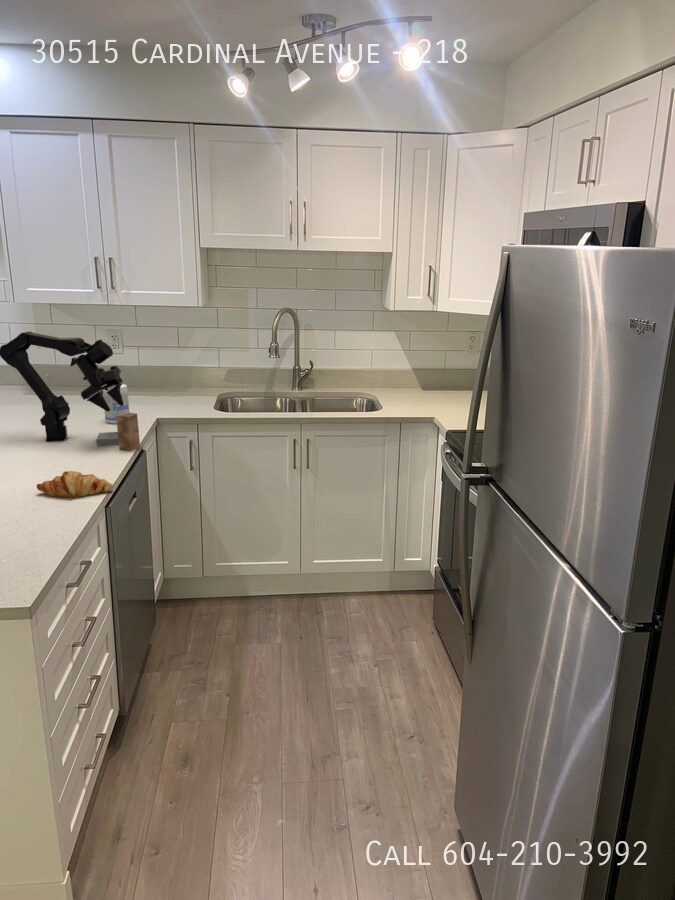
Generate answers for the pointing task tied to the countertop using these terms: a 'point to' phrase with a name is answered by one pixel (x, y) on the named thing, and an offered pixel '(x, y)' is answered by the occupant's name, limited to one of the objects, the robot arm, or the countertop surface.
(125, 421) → the walnut pillar
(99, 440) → the light grey plinth
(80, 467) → the countertop surface
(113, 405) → the supplement tub
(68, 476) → the croissant
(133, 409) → the countertop surface
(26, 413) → the countertop surface
